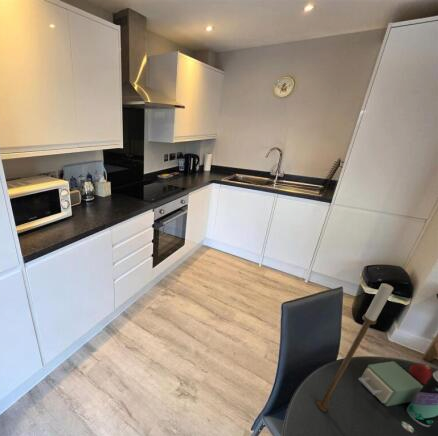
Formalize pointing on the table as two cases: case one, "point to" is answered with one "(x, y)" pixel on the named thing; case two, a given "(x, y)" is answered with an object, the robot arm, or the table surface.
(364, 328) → the candlestick
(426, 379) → the onion
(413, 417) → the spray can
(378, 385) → the fryer drawer
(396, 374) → the green drawer box
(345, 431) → the table surface
